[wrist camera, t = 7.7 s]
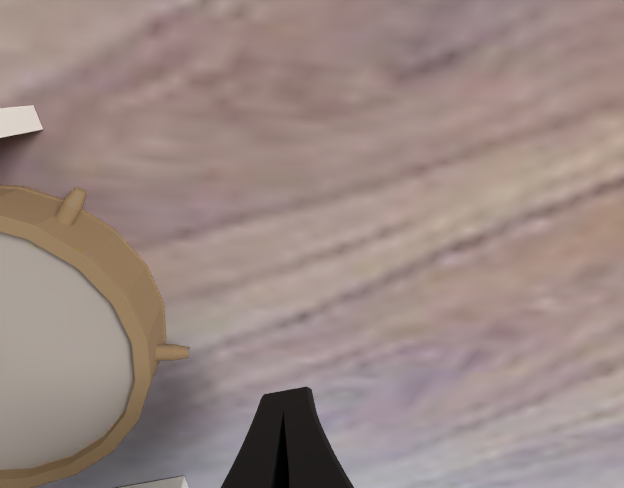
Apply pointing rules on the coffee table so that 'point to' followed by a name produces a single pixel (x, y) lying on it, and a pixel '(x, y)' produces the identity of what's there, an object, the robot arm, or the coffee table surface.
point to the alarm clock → (70, 337)
